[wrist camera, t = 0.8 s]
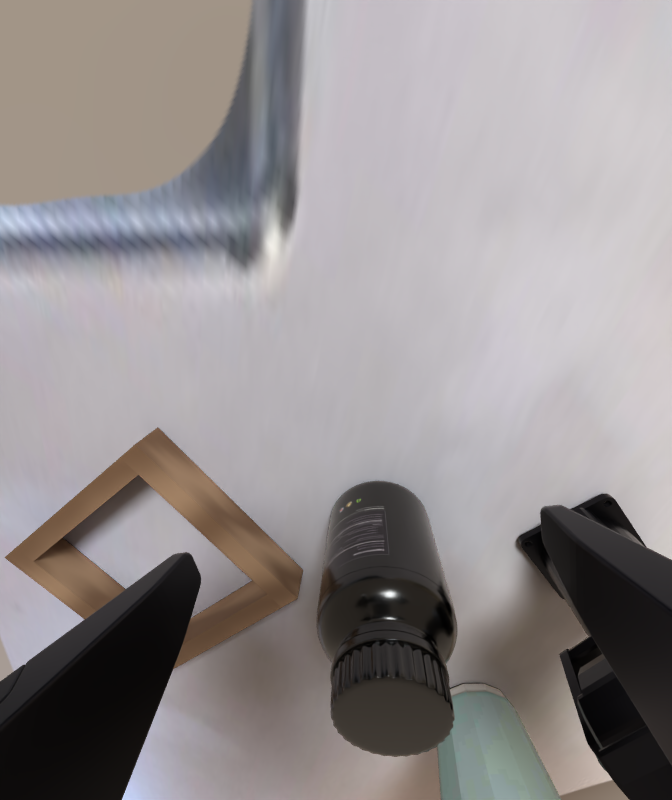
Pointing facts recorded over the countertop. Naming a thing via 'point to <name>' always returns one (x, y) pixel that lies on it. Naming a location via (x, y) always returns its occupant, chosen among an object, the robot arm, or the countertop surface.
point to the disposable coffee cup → (490, 751)
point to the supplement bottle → (386, 622)
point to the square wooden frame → (202, 507)
